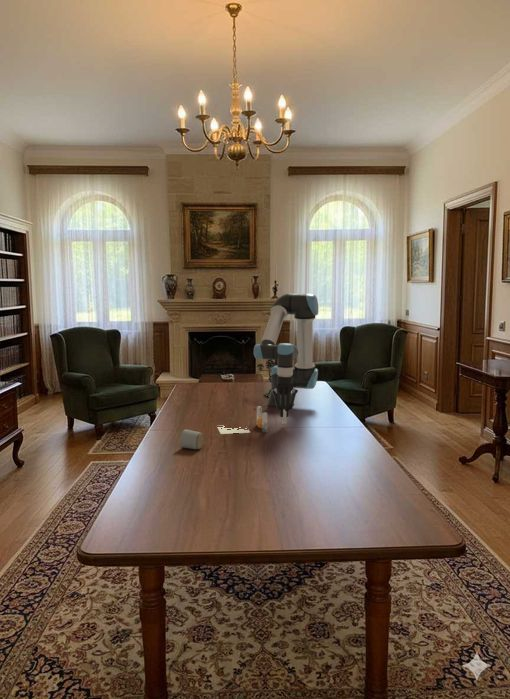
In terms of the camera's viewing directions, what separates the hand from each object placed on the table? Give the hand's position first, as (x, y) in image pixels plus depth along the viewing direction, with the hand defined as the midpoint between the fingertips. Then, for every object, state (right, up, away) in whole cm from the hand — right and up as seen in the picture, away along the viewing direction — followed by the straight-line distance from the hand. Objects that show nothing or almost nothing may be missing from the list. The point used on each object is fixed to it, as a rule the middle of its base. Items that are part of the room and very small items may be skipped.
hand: (283, 423), depth 244 cm
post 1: (-12, -1, +4) cm, 13 cm away
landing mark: (-25, -2, -5) cm, 25 cm away
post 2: (-10, -3, -8) cm, 13 cm away
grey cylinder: (-40, -6, -32) cm, 52 cm away
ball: (-11, +1, -3) cm, 11 cm away
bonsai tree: (-3, +6, +69) cm, 69 cm away
